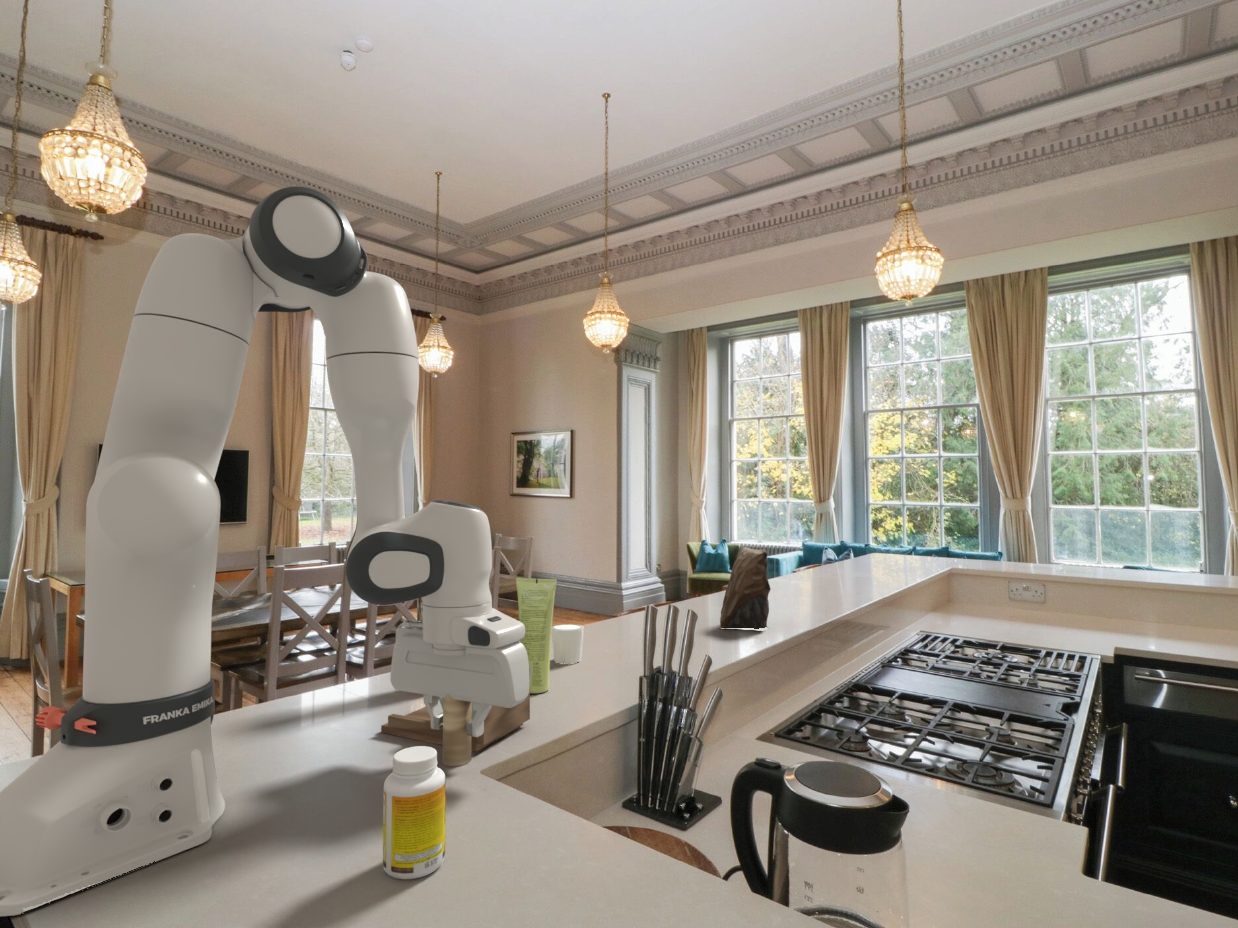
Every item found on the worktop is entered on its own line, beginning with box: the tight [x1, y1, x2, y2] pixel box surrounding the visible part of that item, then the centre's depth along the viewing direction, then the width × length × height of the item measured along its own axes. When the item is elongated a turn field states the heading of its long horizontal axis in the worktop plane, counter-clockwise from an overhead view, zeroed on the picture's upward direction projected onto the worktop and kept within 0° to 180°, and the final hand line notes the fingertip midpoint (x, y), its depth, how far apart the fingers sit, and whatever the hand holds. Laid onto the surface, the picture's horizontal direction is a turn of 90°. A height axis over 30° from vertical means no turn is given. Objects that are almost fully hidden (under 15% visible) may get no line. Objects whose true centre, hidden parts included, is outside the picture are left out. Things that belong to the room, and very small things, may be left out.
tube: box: [515, 577, 558, 694], centre depth 116 cm, size 6×5×20 cm
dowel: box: [442, 694, 472, 767], centre depth 86 cm, size 4×4×9 cm
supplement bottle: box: [382, 745, 446, 880], centre depth 62 cm, size 6×6×10 cm
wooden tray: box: [380, 682, 531, 752], centre depth 97 cm, size 11×18×6 cm, turn 65°
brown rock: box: [719, 546, 771, 629], centre depth 169 cm, size 13×13×20 cm
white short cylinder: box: [551, 623, 585, 665], centre depth 136 cm, size 7×7×7 cm
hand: (457, 731), depth 86 cm, fingers open, 4 cm apart
